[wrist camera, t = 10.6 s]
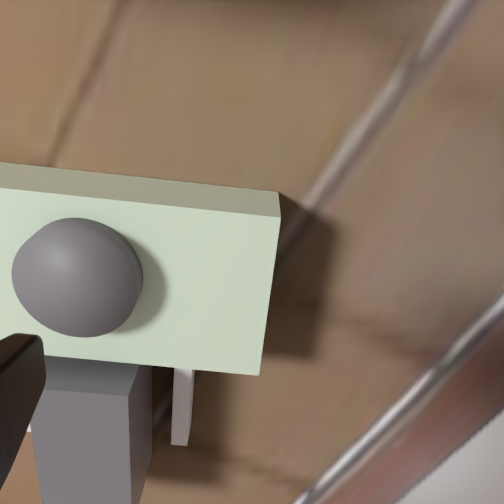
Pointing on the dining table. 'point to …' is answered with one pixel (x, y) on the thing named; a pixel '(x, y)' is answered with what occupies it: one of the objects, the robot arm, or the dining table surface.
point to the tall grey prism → (93, 431)
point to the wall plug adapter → (138, 271)
